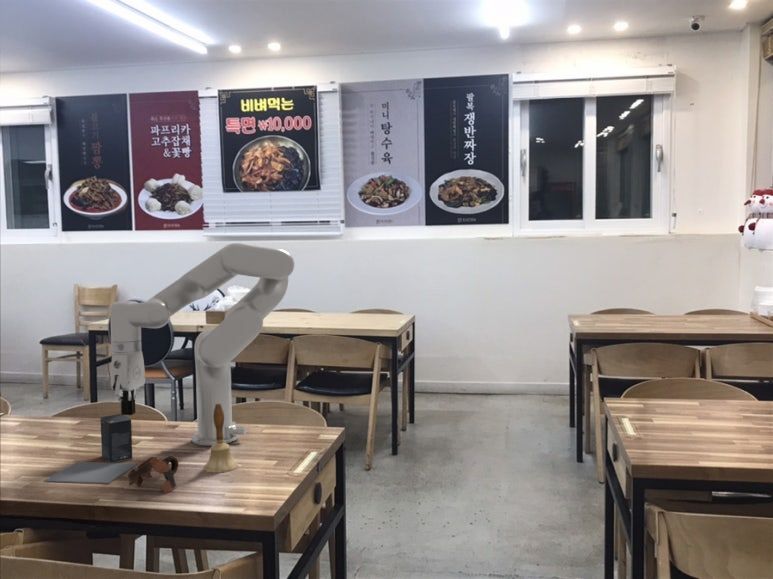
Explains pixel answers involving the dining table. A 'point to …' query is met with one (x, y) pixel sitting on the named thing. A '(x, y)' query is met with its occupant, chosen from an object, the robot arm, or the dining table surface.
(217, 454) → the hand bell
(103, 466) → the mat
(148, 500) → the dining table surface
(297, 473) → the dining table surface
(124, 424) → the box
